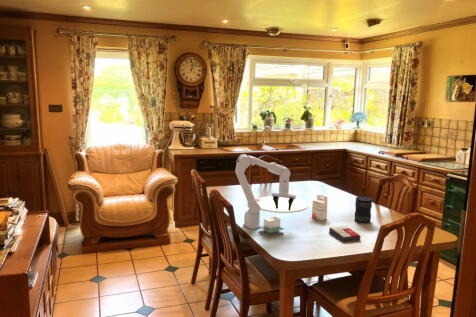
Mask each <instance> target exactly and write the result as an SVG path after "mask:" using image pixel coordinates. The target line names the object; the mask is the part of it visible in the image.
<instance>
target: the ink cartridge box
mask: <svg viewBox="0 0 476 317" xmlns="http://www.w3.org/2000/svg"><path fill="white" fill-rule="evenodd" d="M327 214H328V196H324V195H321V194H316V198H315V199H313V200H312V206H311V218H314V219H317V220H318V221H319V220H320V221H324V220H327V217H328V215H327Z"/></svg>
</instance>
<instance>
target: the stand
mask: <svg viewBox="0 0 476 317" xmlns="http://www.w3.org/2000/svg"><path fill="white" fill-rule="evenodd" d="M258 229H261V230H259V231H258V233H259V234H261V235H263V236H265V237H268V238H275V237H278V236H283V235H284V234H285V233H284V232H283V231H284V229H285V228H284V227H282V226H280V228H276V229H271V230H268V229H267V230H266V229H264V225H261V226H259V228H258ZM282 230H283V231H282Z"/></svg>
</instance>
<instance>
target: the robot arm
mask: <svg viewBox="0 0 476 317" xmlns="http://www.w3.org/2000/svg"><path fill="white" fill-rule="evenodd" d="M250 165H251V166H254V165H257V166H259V167H262V168H265V169H267V171H268V172H269V173H272V174H275V175H277V176H279V182H278V184H279V185H278V192H272V193H271V196H272V197H273V200H274V202H275V206H276V209H278V200H279V197H282V198H290V199H289V200H288V202H289V207H288V210H289V211H290V209H291V205H292V203H293V201H294V199H296V198H297V195H295V194H290V192H289V190H290V177H291V171H290V169H289V168H288V167H286V166H284V165H281V164H277V162H276V161H274V162H267V161H264V160H262V159H260V158H257V157H255V156H252V155H248V154H245V153H243V154H242V153H241V154H240V155H239V156H238V157H237V159H236V166H235V174H236V177H237V180H238V182H239V184H240V187H241V190H242V191H243V193H244V196H245V198H246V201H247V208H248V210H246V212H244V221H243V222H244V223H243V226H244V227H246V228H248V229H250V230H256V229H260V228H259V226H262V225H261V224H260V222H261V209H260V205H259V204H258V202H257V201H256V200H255V199H256V198H255V196H254V193H253V191H252V188H251V187H250V184H249V182H248V180H247V177H246V175H245V172H246V170H247V169H248V167H250Z"/></svg>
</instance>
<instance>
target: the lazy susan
mask: <svg viewBox="0 0 476 317" xmlns="http://www.w3.org/2000/svg"><path fill="white" fill-rule="evenodd" d="M289 199H290V198H282V197H279V200H278V209H276V206H275V202H274V200H273V197H272V195H270V196H269V195H267V196H263V197H257V198H255V200H256V201H257V202H258V204H259V205H260V210H263V211H267V212H272V213H296V212H302V211H304V210H306V209H307V208H309V204H308V203H307V201H305V200H303V199H300V198H297V197H296V199H294V201H293V203H292V205H291V209H290V211H289V210H288V207H289V202H288V200H289Z"/></svg>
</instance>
